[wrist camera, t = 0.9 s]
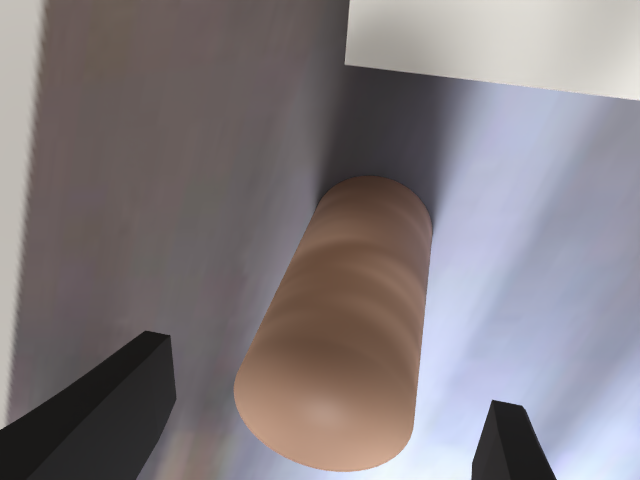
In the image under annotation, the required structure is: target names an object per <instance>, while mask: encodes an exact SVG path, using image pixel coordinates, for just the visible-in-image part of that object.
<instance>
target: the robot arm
mask: <svg viewBox="0 0 640 480" xmlns="http://www.w3.org/2000/svg"><path fill="white" fill-rule="evenodd" d="M175 401H176V389H175V379H174V369H173V358H172V348H171V338H170V335H165V334H160V333H155V332H150V331H144V332H143V333H141V334H140V335H139V336H137V337H136V338H134V339H133V340H132V341H130V342H129V343H127V344H126V345H125V346H123V347H122V348H121V349H119V350H118V351H117V352H115V353H114V354H113V355H111V356H110V357H109V358H107V359H106V360H104V361H103V362H102V363H100V364H99V365H98V366H96V367H95V368H94V369H92V370H91V371H89V372H88V373H87V374H85V375H84V376H82V377H81V378H79V379H78V380H77V381H75V382H74V383H72V384H71V385H70V386H68V387H67V388H65V389H64V390H62V391H61V392H60V393H58V394H57V395H55V396H54V397H52V398H50V399H49V400H47V401H46V402H44V403H43V404H41V405H40V406H38V407H37V408H35V409H34V410H32V411H30V412H29V413H27V414H26V415H24V416H23V417H21V418H19V419H18V420H16V421H14V422H13V423H11V424H10V425H8V426H6V427H4V428H3V429H1V430H0V480H136V478H137V476H138V475H139V473H140V471H141V470H142V468H143V466H144V464H145V463H146V461H147V459H148V458H149V456H150V454H151V452H152V451H153V449H154V447H155V445H156V444H157V442H158V440H159V438H160V436H161V434H162V431H163V429H164V427H165V425H166V423H167V420H168V418H169V415H170V413H171V411H172V408H173V406H174V404H175ZM471 480H557V479H556V477H555V475H554V473H553V471H552V469H551V467H550V465H549V463H548V461H547V459H546V456H545V454H544V452H543V450H542V448H541V446H540V443H539V441H538V439H537V436H536V434H535V432H534V429H533V427H532V425H531V422H530V420H529V417H528V415H527V412H526V410H525V409H524V408H523V406H521V405H516V404H511V403H506V402H501V401H496V400H492V402H491V405H490V408H489V412H488V415H487V418H486V421H485V424H484V427H483V431H482V434H481V437H480V440H479V443H478V446H477V450H476V453H475V456H474V459H473V462H472V479H471Z"/></svg>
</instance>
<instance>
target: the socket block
mask: <svg viewBox="0 0 640 480" xmlns="http://www.w3.org/2000/svg"><path fill="white" fill-rule="evenodd" d="M345 65H352V66H360V67H369V68H377V69H385V70H393V71H401V72H410V73H418V74H426V75H434V76H443V77H451V78H459V79H467V80H476V81H484V82H492V83H500V84H508V85H517V86H525V87H533V88H541V89H550V90H558V91H566V92H574V93H582V94H591V95H599V96H607V97H615V98H624V99H632V100H640V0H350V7H349V18H348V30H347V42H346V53H345Z"/></svg>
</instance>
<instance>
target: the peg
mask: <svg viewBox="0 0 640 480" xmlns="http://www.w3.org/2000/svg"><path fill="white" fill-rule="evenodd" d="M431 243H432V223H431V218H430V216H429V213H428V211H427V209H426V207H425V205H424V204H423V202H422V201H421V200H420V198H419V197H418V196H417V195H416V194H415V193H414V192H412V191H411V190H410V189H409V188H407V187H406V186H404V185H402V184H400V183H398V182H396V181H394V180H391V179H388V178H384V177H379V176H359V177H353V178H350V179H347V180H344V181H342V182H340V183H338V184H337V185H335V186H333V187H332V188H331V189H330V190H328V191H327V193H326V194H325V195H324V196H323V197H322V199H321V200H320V202H319V204H318V206H317V208H316V210H315V212H314V214H313V216H312V218H311V220H310V223H309V225H308V227H307V229H306V231H305V233H304V235H303V237H302V239H301V241H300V243H299V246H298V248H297V250H296V252H295V254H294V256H293V258H292V260H291V262H290V264H289V266H288V268H287V271H286V273H285V275H284V277H283V279H282V281H281V283H280V285H279V287H278V289H277V291H276V293H275V296H274V298H273V300H272V302H271V304H270V306H269V308H268V310H267V312H266V314H265V316H264V318H263V321H262V323H261V325H260V327H259V329H258V331H257V333H256V335H255V337H254V339H253V341H252V344H251V346H250V348H249V350H248V352H247V354H246V356H245V358H244V360H243V362H242V364H241V366H240V369H239V371H238V373H237V375H236V379H235V383H234V397H235V402H236V406H237V409H238V411H239V413H240V416H241V417H242V419H243V421H244V422H245V424H246V425H247V427H248V428H249V429H250V430H251V432H252V433H253V434H254V435H255V436H256V437H257V438H258V439H259V440H260V441H262V442H263V443H264V444H265V445H266V446H268V447H269V448H271V449H272V450H273V451H275V452H277V453H278V454H280V455H282V456H284V457H285V458H288V459H290V460H292V461H294V462H297V463H299V464H302V465H305V466H308V467H312V468H316V469H321V470H326V471H336V472H351V471H360V470H366V469H370V468H373V467H377V466H379V465H381V464H384V463H386V462H388V461H389V460H391V459H392V458H394V457H395V456H396V455H398V454H399V453H400V452H401V451H402V450H403V448H404V447H405V446H406V445H407V443H408V441H409V439H410V437H411V434H412V431H413V425H414V416H415V406H416V396H417V386H418V375H419V365H420V355H421V345H422V335H423V325H424V315H425V304H426V294H427V284H428V274H429V264H430V254H431Z"/></svg>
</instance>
